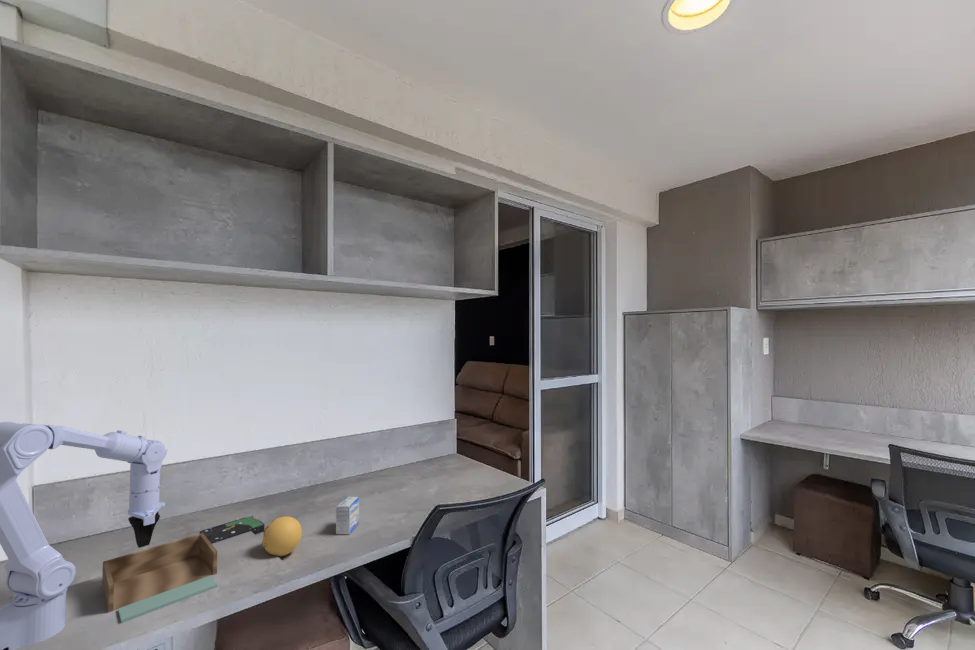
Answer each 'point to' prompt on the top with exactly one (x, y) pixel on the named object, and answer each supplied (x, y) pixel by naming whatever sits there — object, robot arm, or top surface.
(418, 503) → the top surface
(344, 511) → the medicine box
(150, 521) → the robot arm
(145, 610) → the green flat rectangular panel
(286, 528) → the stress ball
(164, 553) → the wooden drawer
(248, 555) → the top surface
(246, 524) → the disk drive
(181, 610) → the top surface
